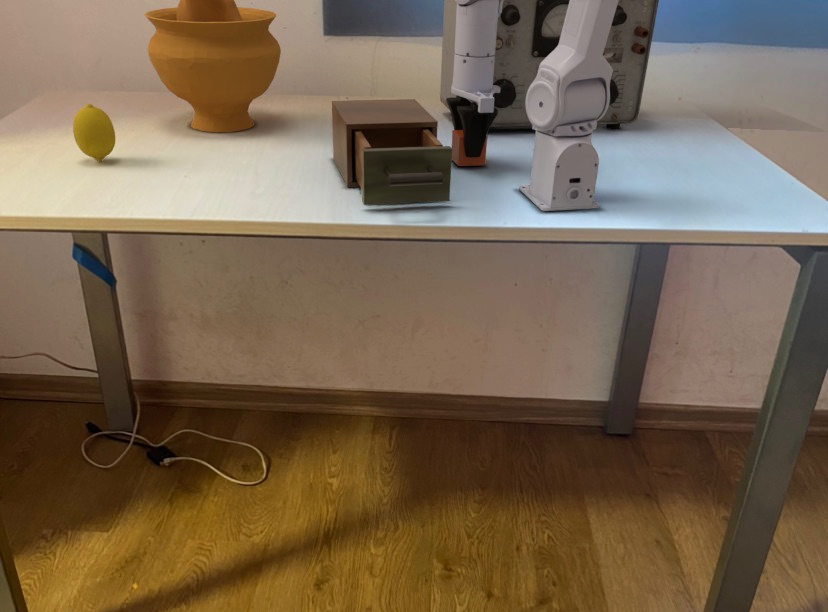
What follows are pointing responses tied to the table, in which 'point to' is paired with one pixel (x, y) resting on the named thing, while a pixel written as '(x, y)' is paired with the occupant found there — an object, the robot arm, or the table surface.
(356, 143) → the drawer
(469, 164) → the block
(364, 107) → the cabinet
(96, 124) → the lemon
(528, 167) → the table surface
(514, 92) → the vintage electronic device
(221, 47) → the mortar and pestle
